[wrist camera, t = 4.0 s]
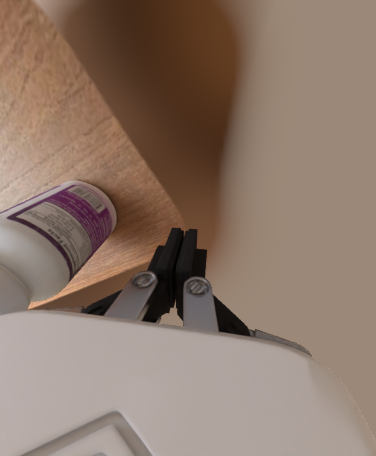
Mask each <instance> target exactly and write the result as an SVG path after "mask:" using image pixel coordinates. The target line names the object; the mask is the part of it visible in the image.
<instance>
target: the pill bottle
mask: <svg viewBox="0 0 376 456" xmlns="http://www.w3.org/2000/svg"><path fill="white" fill-rule="evenodd" d="M116 219H117V218H116V211H115V208H114V206H113V204H112V203H111V201H110V199H109V198H108V197H107V196H106V195H105V194H104V193H103V192H102V191H101V190H99V189H98V188H97V187H95V186H93V185H91V184H88V183H86V182H82V181H68V182H65V183H63V184H61V185H58V186H56V187H54V188H52V189H50V190H48V191H46V192H44V193H41V194H39V195H37V196H35V197H33V198H31V199H29V200H26V201H24V202H22V203H20V204H18V205H16V206H14V207H11V208H9V209H7V210H5V211H3V212H1V213H0V316H1V315H4V314H8V313H13V312H18V311H27V310H28V306H29V305H30V302H35V301H42V300H46V299H49V298H51V297H53V296H55V295H56V294H58V293H59V292H60V291H61V290H62V289H63V288H65V287H66V285H67V284H68V283H69V282H70V281H71V279H72V278H73V277H74V276H75V275H76V274H77V273H78V272H79V270H80V269H81V268H82V267H83V266H84V265H85V263H86V262H87V261H88V260H89V259H90V258H91V256H92V255H93V254H94V253H95V252H96V251H97V249H98V248H99V247H100V246H101V245H102V244H103V243H104V241H105V240H106V239H107V238H108V237H109V236H110V234H111V233H112V232H113V230H114V228H115V226H116Z"/></svg>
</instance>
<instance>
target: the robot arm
mask: <svg viewBox="0 0 376 456" xmlns="http://www.w3.org/2000/svg"><path fill="white" fill-rule="evenodd" d="M196 247H197V229H189V231H186V232H185V235H184V231H183V230H181V228H172V229H171V232H170V234H169V237H168V239H167V242H166V244H165V246H161V245H159V246H158V247H157V249H156V251H155V254H154V256H153V258H152V260H151V263H150V265H149V267H148V269H147V271H142V272H139V273H137V274H135V275H134V276H133V277H132V278H131V279H130V281H129V282H128V283H127V285H126V286H125V288H124V289H122V290H120V291H118V292H116V293H114V294H112V295H110V296H108V297H106V298H104V299H101V300H99V301H97V302H95V303H93V304H92V305H90V306H88V307H87V308H85V309H84V307H83V306H81V307H70V308H57V309H46V310H27V311H18V312H13V313H8V314H4V315H1V316H0V456H376V439H375V437H374V435H373V433H372V431H371V430H370V428H369V426H368V424H367V422H366V420H365V418H364V416H363V415H362V413H361V411H360V409H359V408H358V406H357V404H356V402H355V401H354V399H353V397H352V396H351V394H350V393H349V391H348V390H347V388H346V387H345V385H344V384H343V383H342V382H341V380H340V379H339V378H338V377H337V376H336V374H335V373H333V372H332V371H331V370H330V369H329V368H328V367H326V366H325V365H324V364H322V363H321V362H320V361H318V360H316V359H314V358H313V357H312V356H311V354H310V353H309V351H308V350H306V349H305V348H304V347H303V346H301V345H299V344H297V343H294V342H291V341H289V340H286V339H283V338H280V337H277V336H274V335H271V334H268V333H265V332H263V331H260V330H257V329H255V331H253V330H250V329H248V327H247V326H246V325H245V324H244V323H243V322H242V321H241V320H240V319H239V318H238V317H237V316H236V315H235V314H233V313H232V312H231V311H230V310H229V309H228V308H227V307H226V306H225V305H224V304H223V303H222V302H220V301H219V300H218V299H217V298H216V297H215V296H214V295H213V294H212V287H211V284H210V283H209V281H208V280H207V279H205V269H206V257H207V250H204V249H196ZM175 300H176V308H177V314H178V316H179V317H180V318H181V319H182V321H183V327H181V326H173V325H166V324H159V323H160V319H161V316H162V315H164V314H165V313H169V311H170V308H174V304H175Z"/></svg>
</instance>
